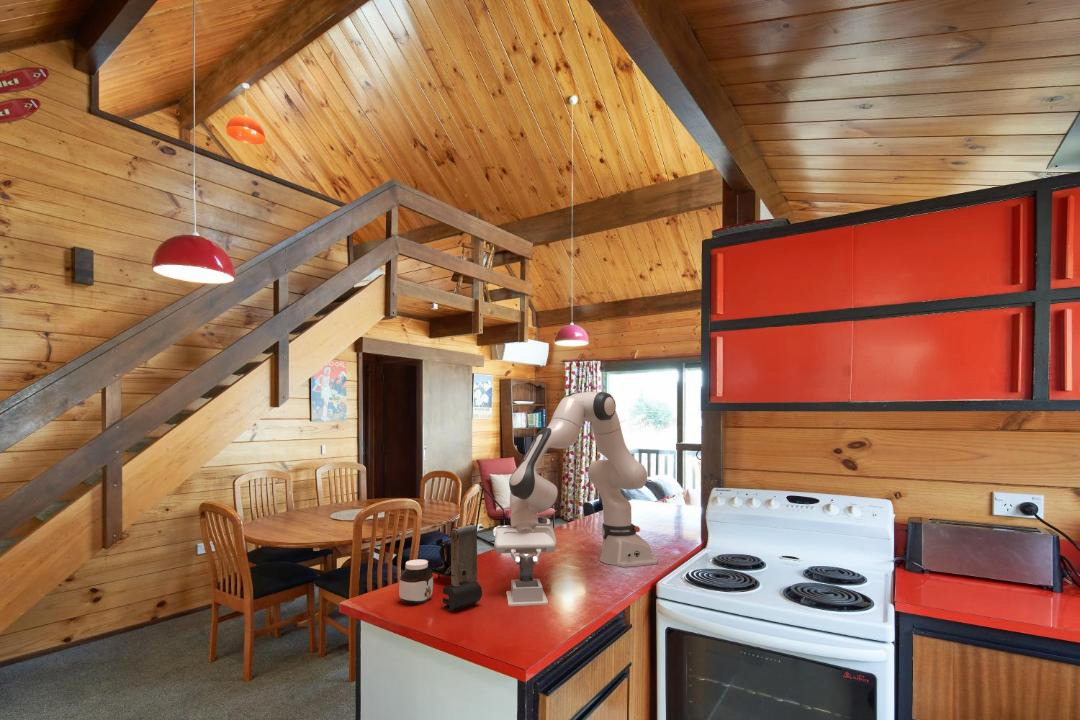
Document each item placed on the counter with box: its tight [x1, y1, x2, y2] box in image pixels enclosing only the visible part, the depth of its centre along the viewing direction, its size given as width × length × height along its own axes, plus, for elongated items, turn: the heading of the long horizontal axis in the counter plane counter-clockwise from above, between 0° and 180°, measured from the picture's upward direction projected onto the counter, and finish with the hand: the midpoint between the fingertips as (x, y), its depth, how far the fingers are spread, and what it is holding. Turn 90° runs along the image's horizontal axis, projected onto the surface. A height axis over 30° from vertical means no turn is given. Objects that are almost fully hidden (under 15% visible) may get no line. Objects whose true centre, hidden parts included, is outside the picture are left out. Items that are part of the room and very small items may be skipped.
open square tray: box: [505, 578, 549, 607], centre depth 169 cm, size 12×12×5 cm
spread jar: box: [398, 559, 434, 606], centre depth 169 cm, size 12×11×12 cm
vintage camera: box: [430, 522, 478, 586], centre depth 186 cm, size 10×15×20 cm, turn 54°
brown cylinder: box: [518, 552, 535, 582], centre depth 170 cm, size 4×4×8 cm
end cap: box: [442, 581, 483, 612], centre depth 162 cm, size 10×7×7 cm
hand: (526, 563), depth 170 cm, fingers closed on brown cylinder, 4 cm apart
